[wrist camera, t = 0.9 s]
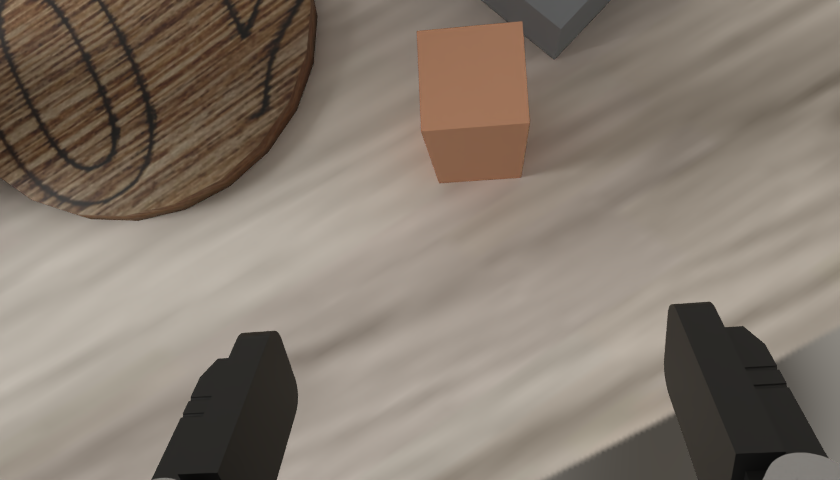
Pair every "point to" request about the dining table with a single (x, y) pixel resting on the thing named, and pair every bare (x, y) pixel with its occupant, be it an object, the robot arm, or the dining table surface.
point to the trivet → (145, 98)
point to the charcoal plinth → (549, 19)
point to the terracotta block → (474, 100)
